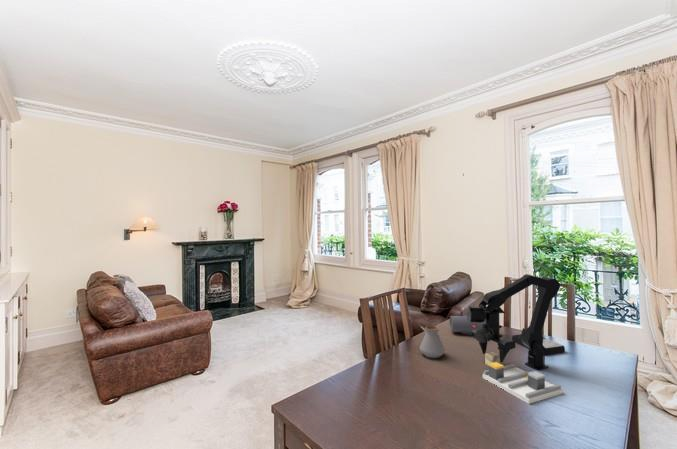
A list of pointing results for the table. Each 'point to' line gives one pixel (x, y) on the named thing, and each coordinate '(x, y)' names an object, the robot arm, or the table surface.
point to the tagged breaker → (496, 370)
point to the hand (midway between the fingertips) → (492, 357)
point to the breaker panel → (522, 385)
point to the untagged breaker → (536, 380)
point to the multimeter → (548, 344)
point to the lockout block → (491, 358)
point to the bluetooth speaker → (463, 325)
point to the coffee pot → (431, 342)
